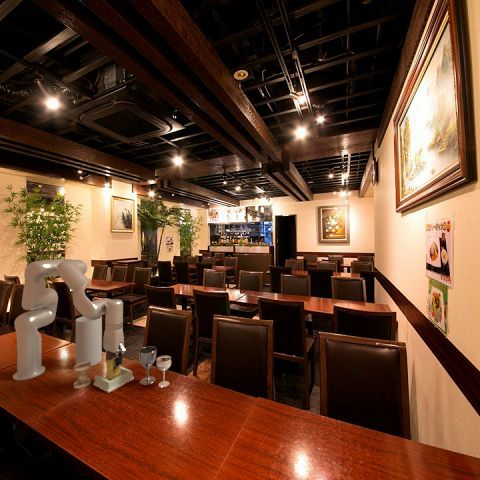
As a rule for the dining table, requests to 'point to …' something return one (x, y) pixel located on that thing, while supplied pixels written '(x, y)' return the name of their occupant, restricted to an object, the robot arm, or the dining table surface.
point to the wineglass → (163, 368)
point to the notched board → (115, 383)
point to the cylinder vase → (89, 340)
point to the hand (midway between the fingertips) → (114, 362)
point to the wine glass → (147, 362)
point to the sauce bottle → (112, 367)
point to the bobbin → (82, 375)
